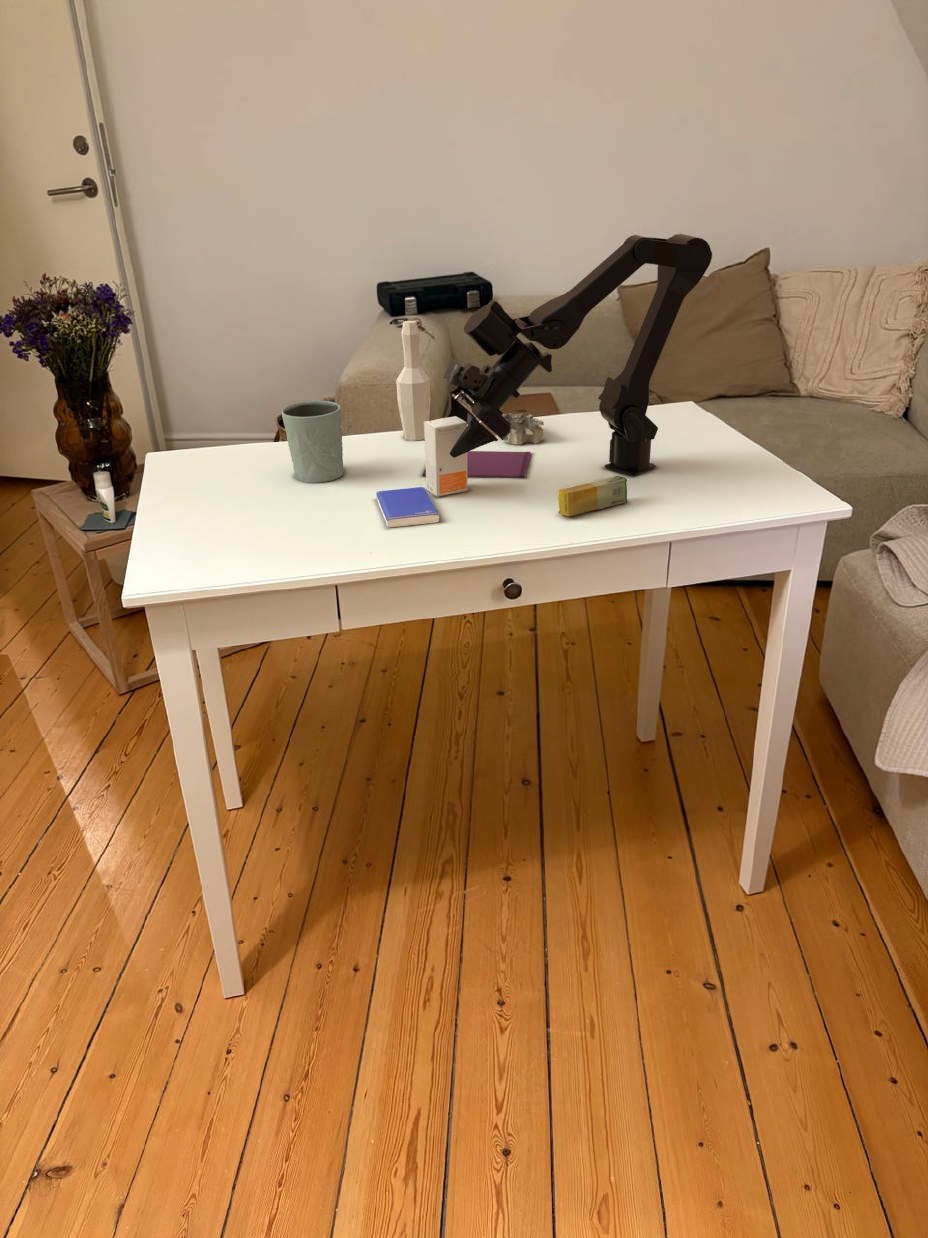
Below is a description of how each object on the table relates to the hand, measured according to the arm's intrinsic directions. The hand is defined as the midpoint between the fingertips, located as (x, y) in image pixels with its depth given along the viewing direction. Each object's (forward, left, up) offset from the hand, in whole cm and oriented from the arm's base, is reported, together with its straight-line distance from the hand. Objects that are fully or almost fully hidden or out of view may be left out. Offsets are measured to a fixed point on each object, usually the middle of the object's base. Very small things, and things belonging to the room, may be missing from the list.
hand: (444, 447), depth 160 cm
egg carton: (+12, -30, -8) cm, 33 cm away
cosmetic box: (0, 0, -8) cm, 8 cm away
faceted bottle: (+27, -16, -8) cm, 32 cm away
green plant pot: (+23, +10, -8) cm, 26 cm away
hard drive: (-2, +10, -8) cm, 13 cm away
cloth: (+6, -13, -8) cm, 16 cm away
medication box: (-23, -11, -8) cm, 27 cm away
